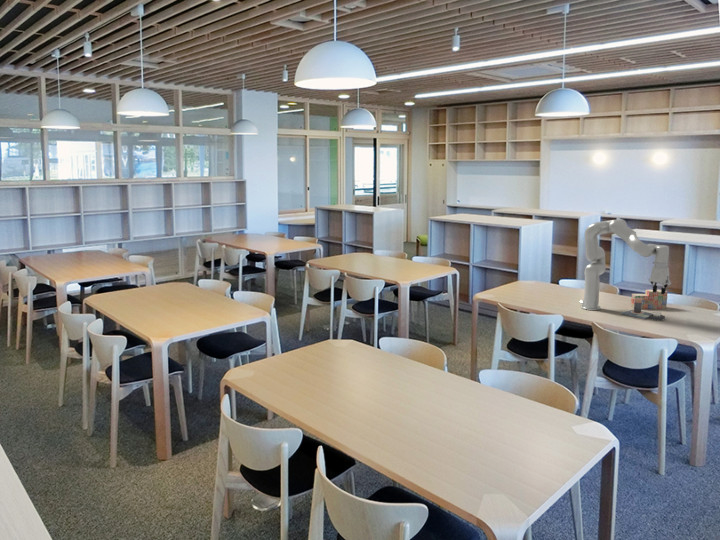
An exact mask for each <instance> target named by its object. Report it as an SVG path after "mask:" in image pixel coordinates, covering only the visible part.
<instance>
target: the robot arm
mask: <svg viewBox="0 0 720 540" xmlns="http://www.w3.org/2000/svg"><path fill="white" fill-rule="evenodd" d="M610 233H611V234H614V235H616V236H618V237H619V238H620V239H621V240H622V241H623V242H626V243H627V245H628V246H629V247H630V248H631V249H632V250H633V251H634V252H635V253H636V254H638V255H640V256H641V257H645V258H648V257H653V256H654V261H653V262H652V264H653V266H652V269H651V273H650V277H649V279H648V282H650V284H651V285H652V290H653V292H657V290H658V285H657V284H661V286H662V287H661V288H660V290H661V294H665V291H667V290H666V289H667V287H669V286H670V285H672V282H671V280H670V268H669V267H668V266H669V253H670V246H668V245H664V244H663V245H661V244H660V245H659V244H654V243H648V244H646V243H645V242H643V241H641V240H640V238H639V237H638V235H637V231H635V230H633V228H630V227H629V226H628V223H627V222H626V221H625V220H624V219H622V218H618V219H611V220H603V221H597V222H593V223H591V224H589V225H588V226H587V227H586V229H585V232H584V249H585V251H584V252H585V259H586V260H587V261H589V262H591V263H589V264H588V265H586V266H585V268H584V271H583V272H584V273H583V274H584V296H583V299H580V301H579V304H581V306H580V307H581V309H583V310H586V309H587V310H586V311H600V310H601V308H602V307H601V306H600V305H599V303H600V287H601V285H600V284H601V281H600V276H601V275H603V274H605V272H606V251H605V249H604V248H603V247H601V246H599V238H598V236H600V235H603V234H604V235H605V234H610Z"/></svg>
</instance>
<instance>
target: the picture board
mask: <svg viewBox="0 0 720 540" xmlns="http://www.w3.org/2000/svg"><path fill="white" fill-rule="evenodd" d="M620 314H621V315H626V316H627V317H628V316H629V317H633V318H638V319H642V320H647V319H649V315H652V314H653V313H651V312H646V311H643V310H641V313H635V312H634V309H631V310H627V311H625V310H624V311H621V312H620Z"/></svg>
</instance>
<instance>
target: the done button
mask: <svg viewBox="0 0 720 540" xmlns="http://www.w3.org/2000/svg"><path fill="white" fill-rule="evenodd" d="M652 314H653V316H657V317H660V316H661V315H662V312H660V311H654V312H653V313H652Z"/></svg>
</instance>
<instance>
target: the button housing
mask: <svg viewBox="0 0 720 540" xmlns="http://www.w3.org/2000/svg"><path fill="white" fill-rule="evenodd" d="M651 314H652V315H649V318H648V319H649V320H652V319H653V320H654V321H657V320H660V321H663V319H664V320H666V319H665V318H666V315H663V314H661V316H660V317H657V316H653V313H651Z"/></svg>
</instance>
